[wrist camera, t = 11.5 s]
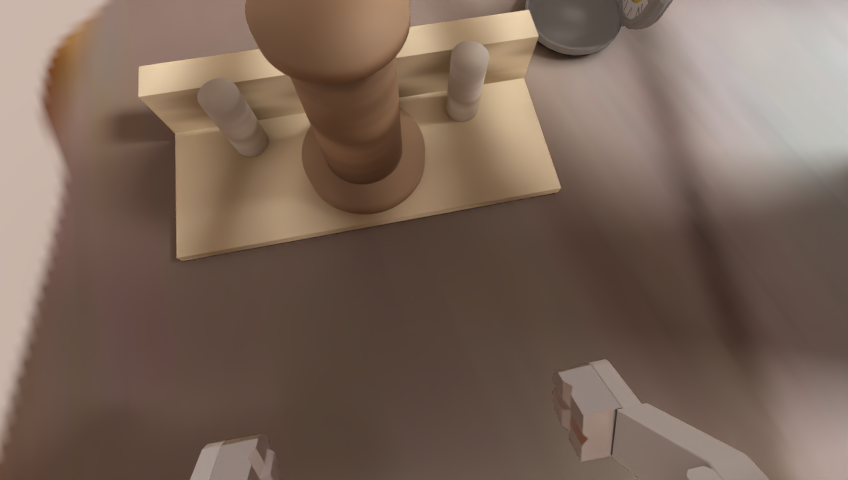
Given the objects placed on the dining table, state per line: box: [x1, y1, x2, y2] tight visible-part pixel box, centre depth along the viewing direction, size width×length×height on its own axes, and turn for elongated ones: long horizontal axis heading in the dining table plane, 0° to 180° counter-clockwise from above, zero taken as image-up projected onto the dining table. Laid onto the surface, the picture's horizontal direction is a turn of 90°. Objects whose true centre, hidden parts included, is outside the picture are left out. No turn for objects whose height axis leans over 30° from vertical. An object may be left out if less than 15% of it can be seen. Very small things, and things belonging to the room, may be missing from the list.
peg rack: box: [138, 10, 561, 261], centre depth 23 cm, size 22×10×5 cm, turn 101°
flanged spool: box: [245, 0, 425, 214], centre depth 19 cm, size 7×7×11 cm
